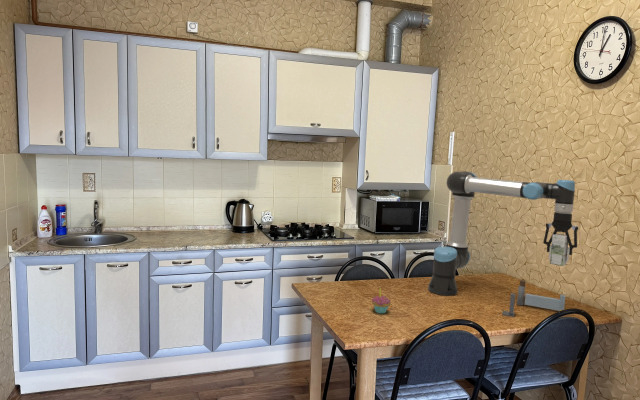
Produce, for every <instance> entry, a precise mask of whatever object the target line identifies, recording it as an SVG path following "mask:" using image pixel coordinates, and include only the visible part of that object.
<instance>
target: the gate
mask: <svg viewBox="0 0 640 400" xmlns="http://www.w3.org/2000/svg"><path fill="white" fill-rule="evenodd" d="M525 291H526V286H525V287H524V286H520V285H518V288H517V297H516V298H517V299H516V305H517V306H524V305H526V306H531V307H536V308H542V309H547V310H553V311H558V312H559V311H560V310H564V311H565V305H566V304H565V303H566V295H565V294H560V295H559V298H555V297H548V296H543V295H537V294H530V293H526V292H525Z"/></svg>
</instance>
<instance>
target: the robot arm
mask: <svg viewBox="0 0 640 400" xmlns="http://www.w3.org/2000/svg"><path fill="white" fill-rule="evenodd" d="M446 187H447V188H448V190H449V191H450V192H451V193H452V194H451V195H452V197H453V198H454V200H453V210H452V219H451V227H450V228H451V229H450V234H449V235H450V236H449V241H447V242H446V246H439V247H437V248H435V250H434V253H433V263H432V265H433V266H432V275H431V278H430V281H429V283H428V286H427V287H428V288H427V290H428V291H429V292H430V293H432V294H434V295H435V294H436V295H440V296H446V297H447V296H448V297H449V296H456V295H457V294H458V286H457V281H456V270H458V269H462V268H464V267H465V266H467V264H469V262H470V258H471V255H470V251H469V245H468V243H467V235H468V226H469V219H470V209H471V203H472V202H471V201H472V200H473V199H474V198H475V193H478V194H479V193H480V194H488V195H495V196H496V195H498V196H504V197H512V198H513V197H514V198H522V199H528V200H531V201H536V200H538V199H545V200H546V199H548V200H554V201H555V202H554V212H553V219H552V221H551V222H549V223H545V228H546V229H545V232H544V233H545V234H544V238H543V242H542V243H543V244H544V245H546V252H547V253H548V260H549V261H550V257H551V246H552V236H553V234H555V235H556V234H558V233H565V234H564V235H567V240H568V250H567V260H566V263H569V258H570V256H572V255H573V249H575V248H578V231H579V226H578V225H577V226H576V225H573V223H572V220H573V218H572V217H573V214H572V213H573V211H574V200H575V193H576V190H575V188H576V181H574V180H571V179H558V180H557V181H556V183H555V182H554V183H549V182H538V181H536V182H535V181H534V182H533V181H532V182H527V181H516V180H508V179H507V180H505V179H495V178H489V177H488V178H487V177H486V178H485V177H478V176H477V175H476V174H475V173H473V172H470V171H468V170H467V171H466V170H465V171H453V172H452V173H450V174H449V175H448V177H447V178H446ZM551 227H552V228H553V229H554V230H553V233H552V234H551V236H550V238H549V239H548V237H549V236H548V235H549V232H550V228H551ZM570 229H572V230H573V244H572V240H571V237H570V233H569V230H570ZM547 239H548V241H547Z"/></svg>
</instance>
